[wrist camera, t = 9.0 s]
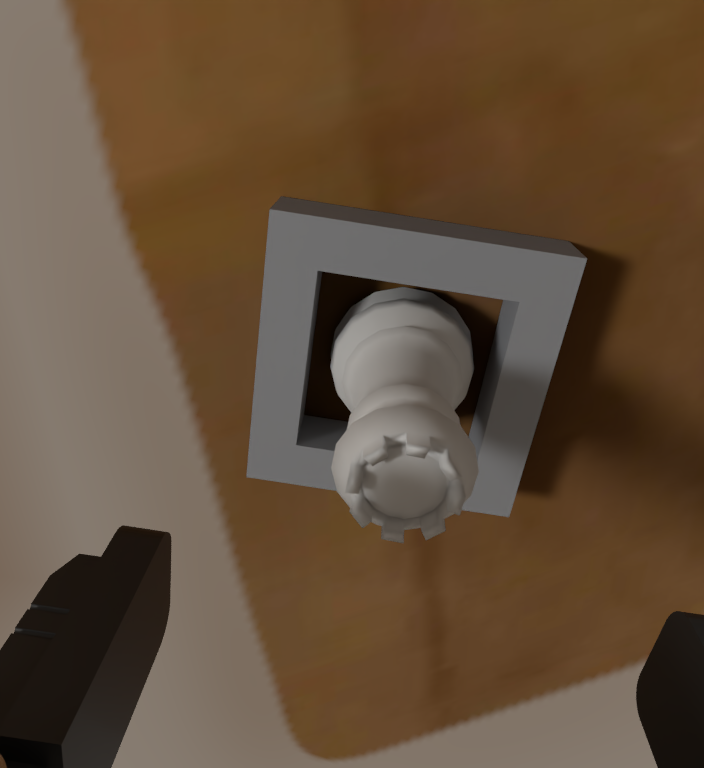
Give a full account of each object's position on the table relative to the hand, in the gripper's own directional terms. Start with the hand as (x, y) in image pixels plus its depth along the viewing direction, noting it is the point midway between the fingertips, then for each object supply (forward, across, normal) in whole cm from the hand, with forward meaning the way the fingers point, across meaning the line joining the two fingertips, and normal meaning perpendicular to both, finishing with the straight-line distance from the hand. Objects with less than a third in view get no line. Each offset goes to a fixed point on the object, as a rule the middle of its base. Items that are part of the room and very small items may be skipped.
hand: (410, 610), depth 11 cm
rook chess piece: (+12, 0, 0) cm, 12 cm away
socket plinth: (+11, 0, 0) cm, 11 cm away
